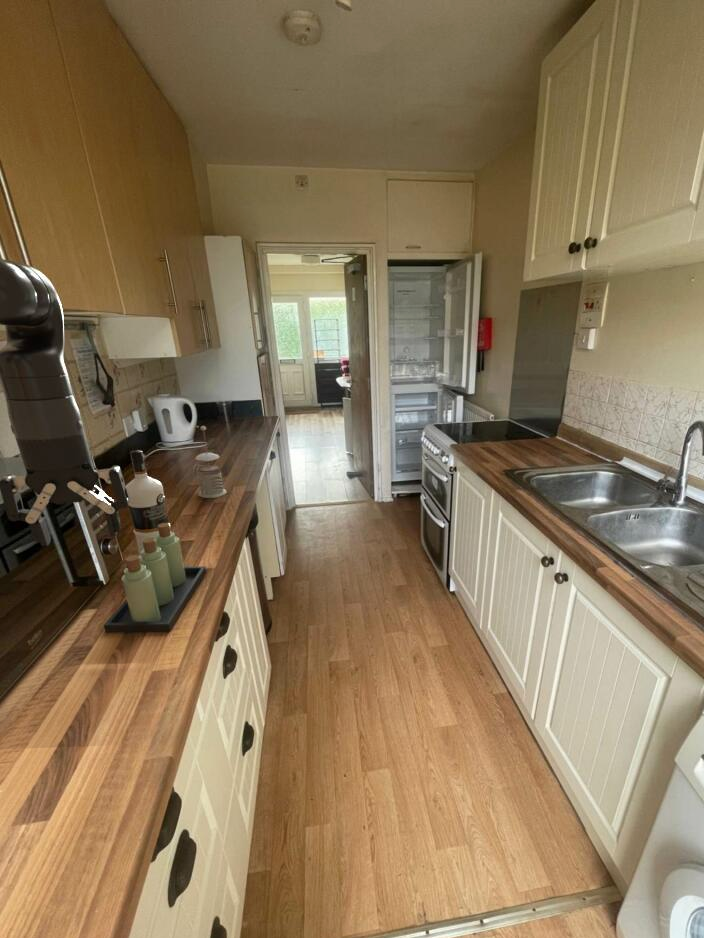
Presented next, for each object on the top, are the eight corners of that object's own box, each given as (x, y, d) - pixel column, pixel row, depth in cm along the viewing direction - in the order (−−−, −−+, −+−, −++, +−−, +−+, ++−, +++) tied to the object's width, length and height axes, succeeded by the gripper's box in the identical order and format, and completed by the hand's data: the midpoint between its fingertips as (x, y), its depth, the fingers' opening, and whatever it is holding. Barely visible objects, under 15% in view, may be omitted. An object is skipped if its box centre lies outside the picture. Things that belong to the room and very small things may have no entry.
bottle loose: (128, 628, 87) (111, 564, 81) (140, 613, 91) (125, 551, 85) (154, 628, 87) (139, 564, 81) (165, 612, 92) (151, 551, 86)
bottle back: (158, 587, 100) (146, 529, 95) (167, 575, 105) (156, 520, 99) (181, 586, 101) (170, 529, 95) (189, 575, 106) (179, 520, 100)
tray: (106, 635, 86) (103, 625, 85) (154, 575, 106) (153, 566, 105) (170, 633, 86) (168, 624, 86) (206, 574, 107) (205, 566, 106)
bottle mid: (144, 606, 94) (129, 545, 88) (154, 592, 98) (141, 534, 92) (168, 605, 94) (156, 545, 88) (177, 592, 99) (166, 534, 93)
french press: (232, 491, 161) (224, 425, 151) (208, 501, 151) (198, 431, 141) (212, 486, 165) (203, 422, 155) (188, 496, 155) (176, 428, 145)
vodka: (157, 551, 118) (134, 444, 106) (186, 556, 115) (166, 447, 104) (130, 567, 109) (103, 453, 97) (161, 573, 107) (137, 457, 95)
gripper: (115, 422, 63) (137, 522, 69) (-7, 428, 58) (30, 535, 64) (107, 433, 57) (133, 542, 63) (-30, 441, 51) (13, 559, 58)
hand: (81, 538), depth 63 cm, fingers open, 8 cm apart
